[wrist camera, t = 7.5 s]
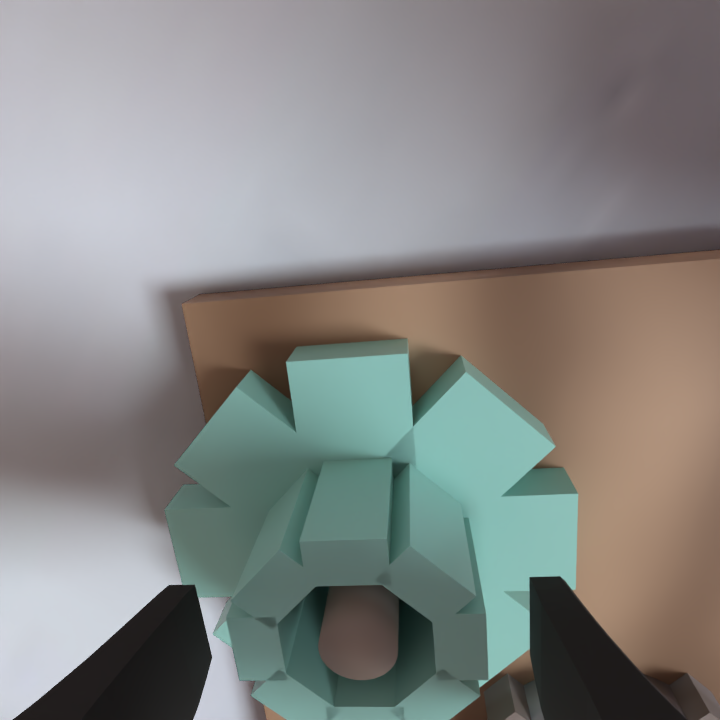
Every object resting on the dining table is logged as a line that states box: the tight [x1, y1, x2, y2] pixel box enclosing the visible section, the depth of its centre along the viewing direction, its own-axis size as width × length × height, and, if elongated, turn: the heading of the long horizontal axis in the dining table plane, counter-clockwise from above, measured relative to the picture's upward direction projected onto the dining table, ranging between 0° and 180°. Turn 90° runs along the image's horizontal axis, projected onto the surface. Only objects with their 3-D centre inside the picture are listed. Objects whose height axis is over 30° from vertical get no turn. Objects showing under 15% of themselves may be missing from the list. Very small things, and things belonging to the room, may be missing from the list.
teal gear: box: [164, 338, 578, 720], centre depth 12 cm, size 10×10×4 cm
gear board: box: [182, 250, 720, 720], centre depth 14 cm, size 14×19×5 cm
